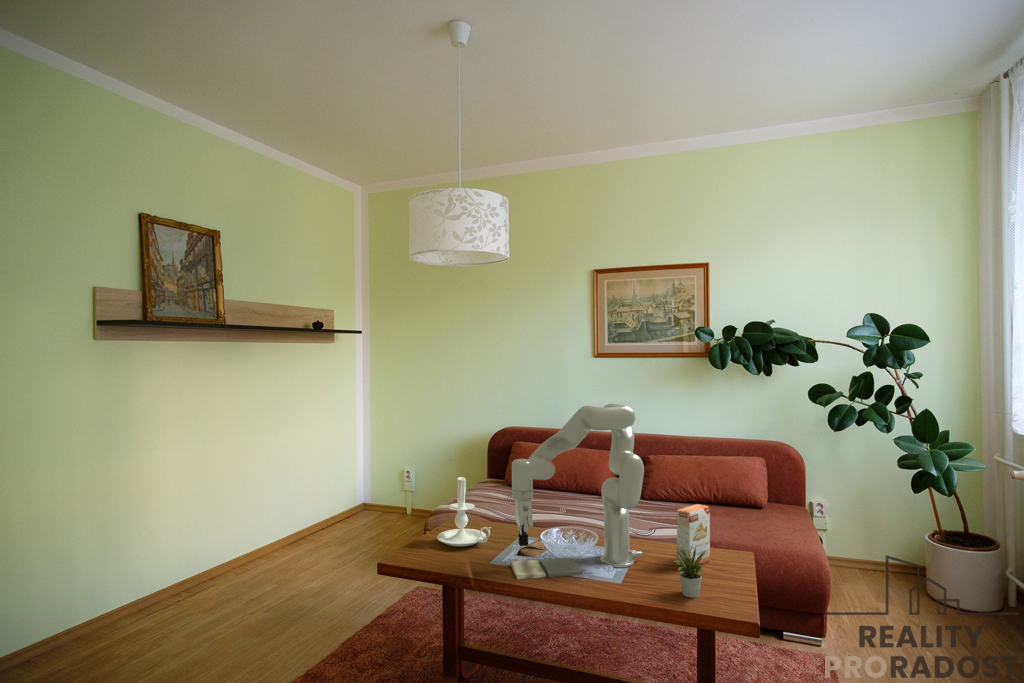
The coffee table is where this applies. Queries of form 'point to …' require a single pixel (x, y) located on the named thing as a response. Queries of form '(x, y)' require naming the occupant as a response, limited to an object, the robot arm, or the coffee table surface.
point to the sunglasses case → (532, 549)
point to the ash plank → (528, 569)
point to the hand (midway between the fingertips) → (523, 544)
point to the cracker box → (694, 532)
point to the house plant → (690, 573)
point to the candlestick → (462, 522)
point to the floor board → (560, 567)
